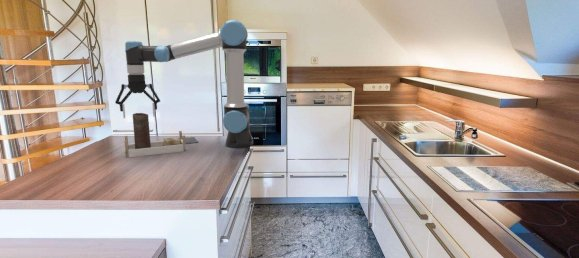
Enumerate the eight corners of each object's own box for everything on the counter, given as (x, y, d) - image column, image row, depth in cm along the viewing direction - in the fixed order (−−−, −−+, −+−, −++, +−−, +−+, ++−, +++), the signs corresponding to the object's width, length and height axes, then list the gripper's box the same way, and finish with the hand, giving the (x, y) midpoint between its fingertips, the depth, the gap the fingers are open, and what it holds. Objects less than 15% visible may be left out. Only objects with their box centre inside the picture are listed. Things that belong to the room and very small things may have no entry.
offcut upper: (175, 142, 178) (174, 137, 177) (179, 145, 172) (178, 139, 172) (163, 144, 174) (163, 138, 174) (167, 147, 169) (167, 141, 168)
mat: (194, 137, 200) (193, 136, 200) (198, 142, 187) (198, 142, 187) (169, 139, 194) (169, 139, 194) (172, 145, 181) (172, 144, 181)
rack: (182, 145, 182) (181, 130, 180) (186, 150, 171) (185, 135, 169) (126, 150, 170) (124, 135, 169) (126, 157, 159) (124, 141, 157)
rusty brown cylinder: (146, 149, 173) (143, 112, 169) (154, 151, 169) (151, 113, 165) (132, 152, 167) (128, 114, 163) (140, 155, 163) (136, 115, 159)
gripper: (162, 73, 168) (165, 114, 173) (107, 73, 158) (111, 117, 162) (164, 74, 162) (166, 116, 166) (106, 74, 151) (111, 119, 155)
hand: (139, 117), depth 164 cm, fingers open, 13 cm apart
